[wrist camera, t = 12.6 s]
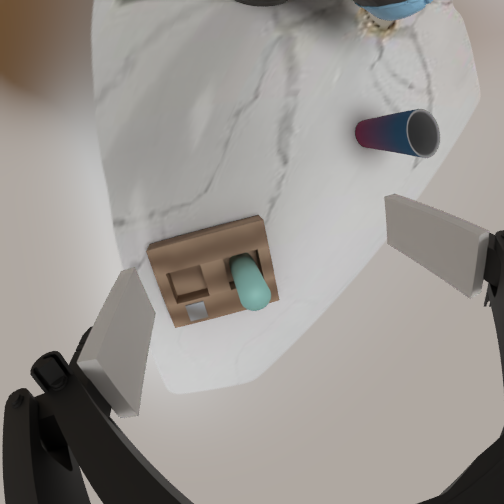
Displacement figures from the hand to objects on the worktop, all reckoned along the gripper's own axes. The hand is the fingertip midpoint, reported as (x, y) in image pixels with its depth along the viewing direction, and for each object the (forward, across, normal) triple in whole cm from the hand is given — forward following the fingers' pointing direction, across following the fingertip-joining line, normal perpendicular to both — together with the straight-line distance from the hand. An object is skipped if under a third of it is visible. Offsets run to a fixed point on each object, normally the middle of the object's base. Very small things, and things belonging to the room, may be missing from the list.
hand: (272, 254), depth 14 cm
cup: (+33, +26, +2) cm, 42 cm away
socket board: (+31, -5, -14) cm, 35 cm away
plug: (+31, -1, -14) cm, 34 cm away
